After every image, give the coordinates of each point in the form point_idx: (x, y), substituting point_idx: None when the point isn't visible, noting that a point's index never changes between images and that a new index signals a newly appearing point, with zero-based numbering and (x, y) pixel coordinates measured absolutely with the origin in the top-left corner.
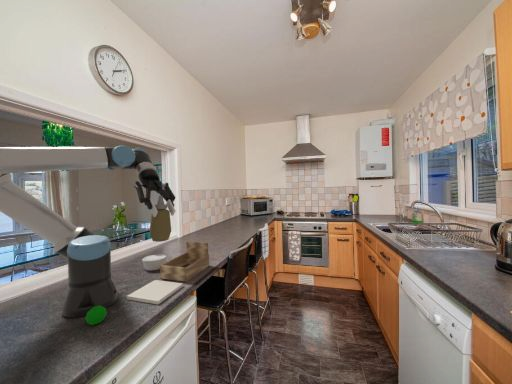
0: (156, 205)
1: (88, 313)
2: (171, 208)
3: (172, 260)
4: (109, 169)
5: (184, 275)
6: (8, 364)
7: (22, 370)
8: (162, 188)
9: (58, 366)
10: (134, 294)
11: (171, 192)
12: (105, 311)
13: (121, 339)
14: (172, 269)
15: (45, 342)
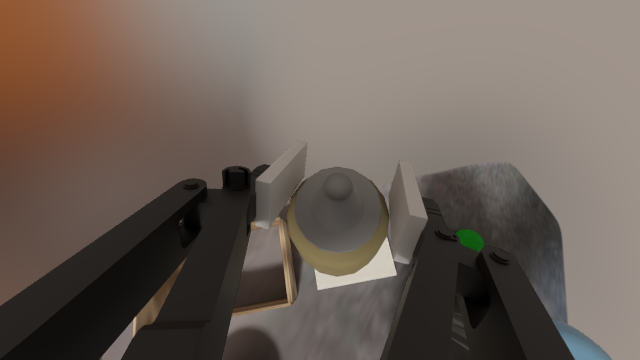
0: (379, 200)
1: (483, 243)
2: (298, 161)
3: (240, 311)
4: None
5: (285, 224)
6: (559, 253)
7: (546, 223)
8: (160, 322)
9: (516, 191)
10: (384, 265)
11: (132, 227)
12: (457, 233)
13: (452, 171)
14: (288, 258)
15: (522, 262)
